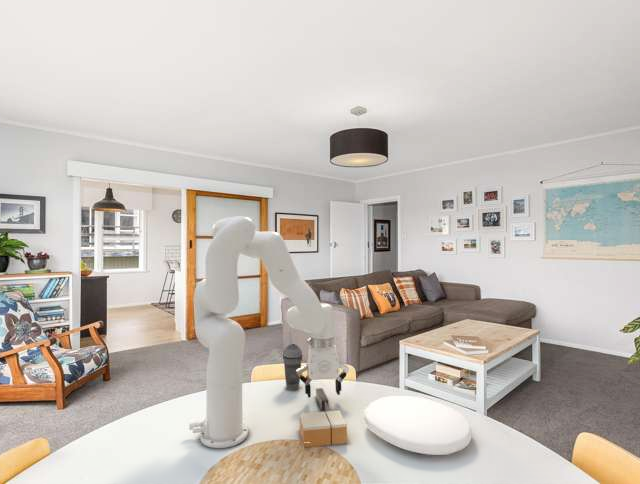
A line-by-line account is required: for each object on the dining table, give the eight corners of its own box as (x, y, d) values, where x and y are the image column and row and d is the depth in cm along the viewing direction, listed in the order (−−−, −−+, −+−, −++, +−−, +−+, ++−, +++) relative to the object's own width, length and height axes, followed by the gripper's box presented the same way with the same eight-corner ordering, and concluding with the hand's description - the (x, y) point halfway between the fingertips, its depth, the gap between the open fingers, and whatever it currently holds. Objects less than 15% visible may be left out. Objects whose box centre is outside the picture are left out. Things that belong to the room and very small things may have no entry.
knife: (327, 424, 106) (327, 414, 106) (316, 397, 125) (316, 388, 125) (335, 424, 106) (335, 413, 106) (322, 396, 125) (322, 388, 125)
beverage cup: (295, 393, 128) (294, 335, 129) (278, 389, 132) (278, 332, 132) (306, 386, 134) (306, 331, 135) (290, 382, 138) (290, 329, 139)
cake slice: (331, 444, 95) (331, 425, 96) (325, 429, 103) (325, 411, 103) (346, 443, 96) (346, 423, 96) (339, 428, 104) (339, 410, 104)
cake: (304, 447, 94) (303, 427, 94) (299, 431, 102) (299, 413, 102) (330, 444, 95) (330, 425, 96) (324, 429, 103) (324, 411, 103)
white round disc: (476, 406, 107) (467, 453, 83) (473, 428, 107) (465, 482, 83) (382, 379, 120) (352, 414, 96) (380, 399, 120) (349, 438, 96)
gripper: (297, 347, 116) (298, 401, 115) (350, 343, 118) (352, 397, 118) (294, 340, 123) (295, 392, 123) (345, 337, 126) (346, 387, 125)
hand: (323, 394), depth 120 cm, fingers open, 9 cm apart
